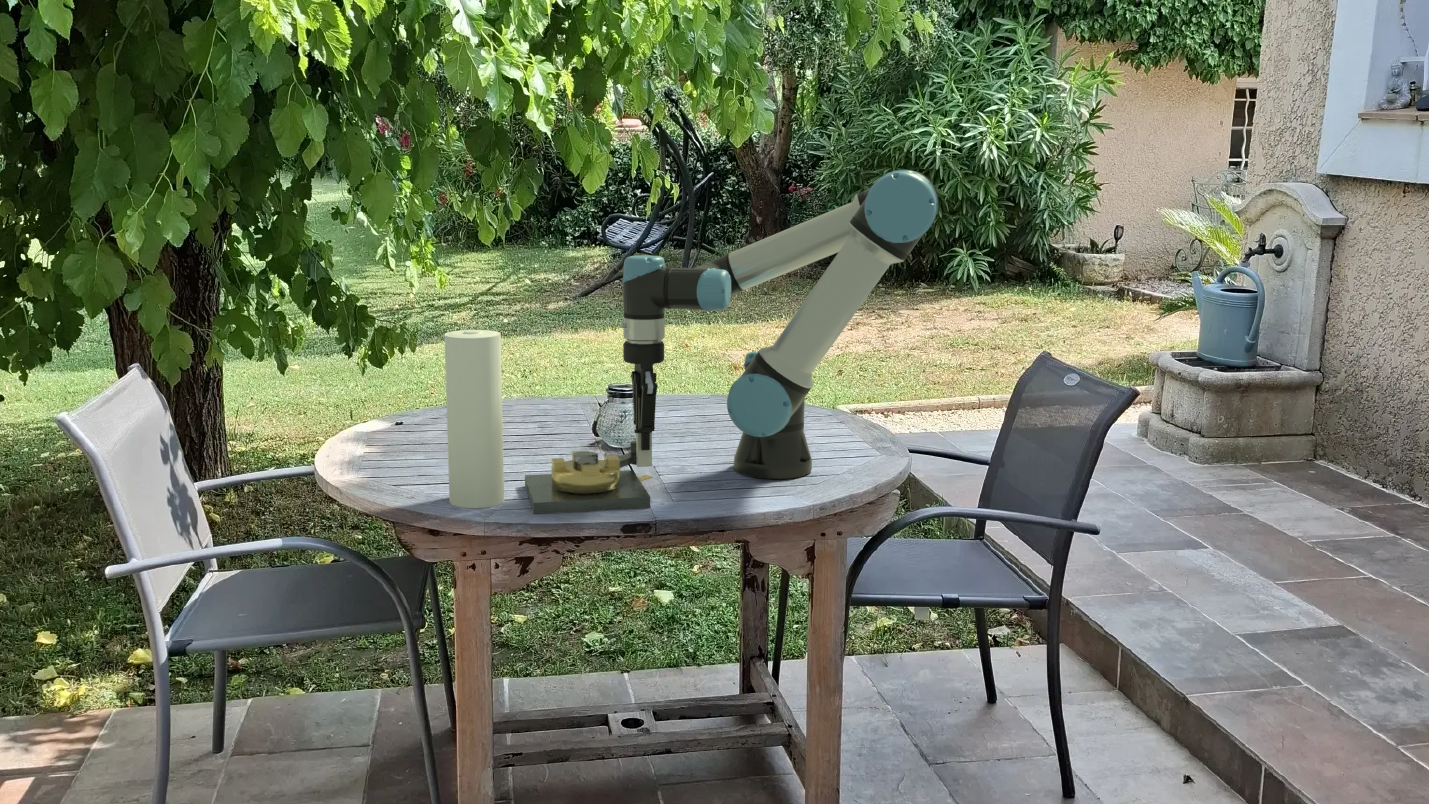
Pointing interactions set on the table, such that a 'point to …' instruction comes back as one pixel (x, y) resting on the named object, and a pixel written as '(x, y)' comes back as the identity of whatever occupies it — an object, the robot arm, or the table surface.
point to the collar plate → (586, 495)
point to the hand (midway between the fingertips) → (644, 465)
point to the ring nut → (590, 471)
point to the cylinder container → (474, 418)
